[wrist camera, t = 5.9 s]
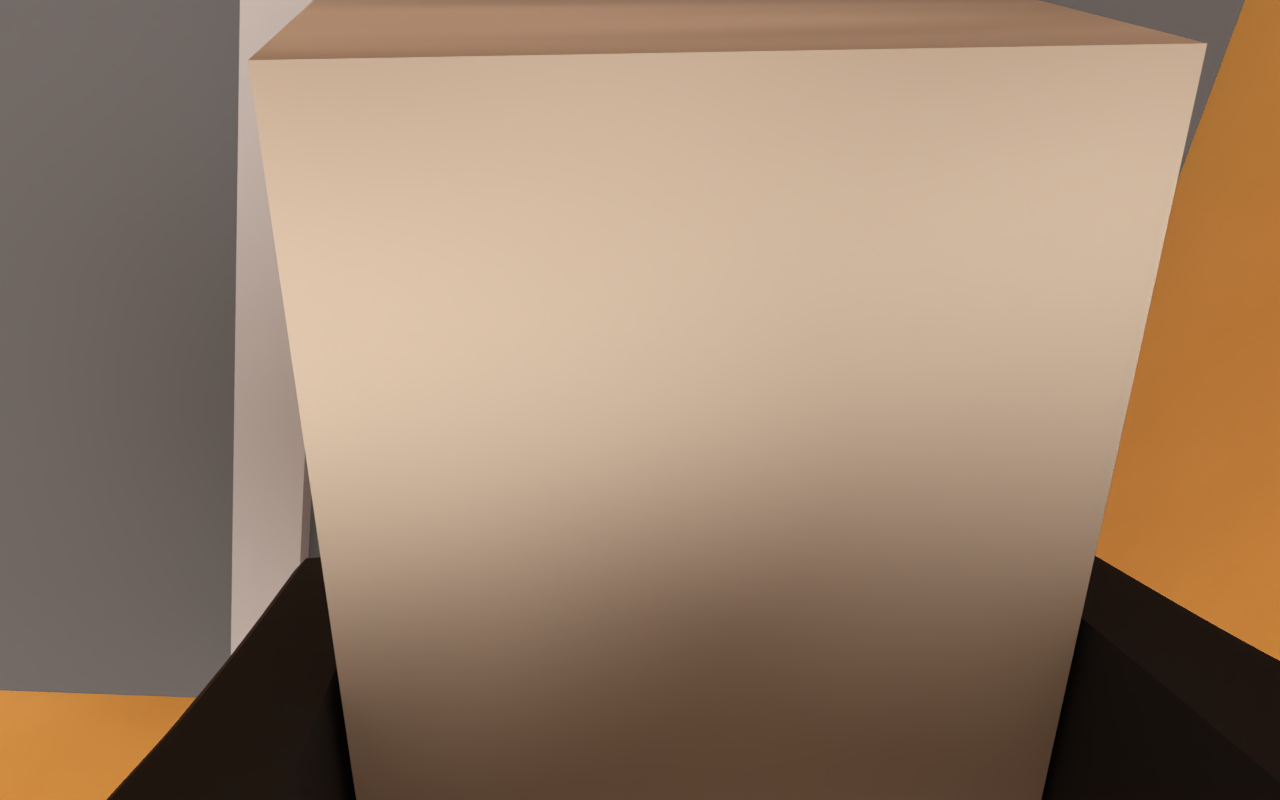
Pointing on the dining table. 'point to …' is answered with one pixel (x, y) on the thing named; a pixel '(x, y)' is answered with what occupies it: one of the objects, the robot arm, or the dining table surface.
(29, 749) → the dining table surface
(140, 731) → the dining table surface
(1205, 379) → the dining table surface
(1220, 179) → the dining table surface
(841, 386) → the beige oblong block
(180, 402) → the mat
